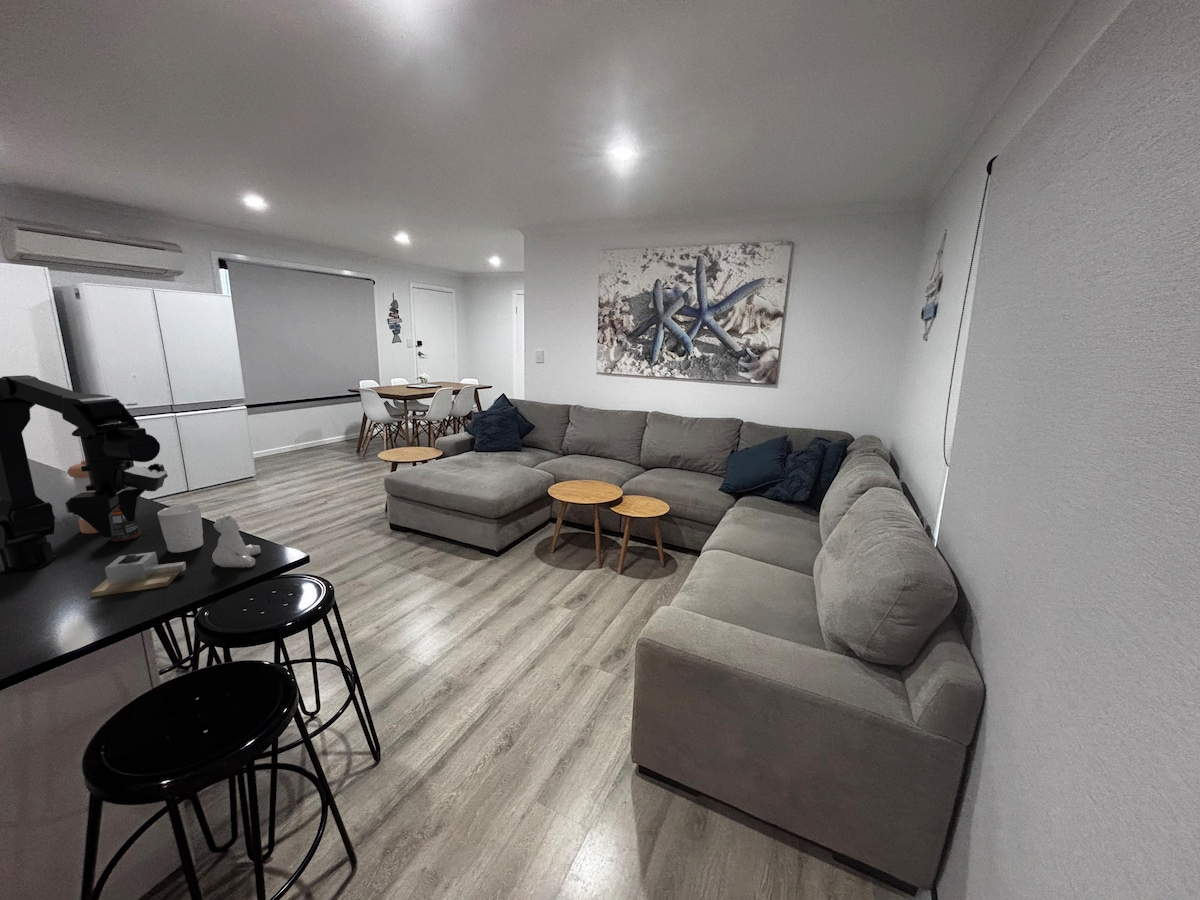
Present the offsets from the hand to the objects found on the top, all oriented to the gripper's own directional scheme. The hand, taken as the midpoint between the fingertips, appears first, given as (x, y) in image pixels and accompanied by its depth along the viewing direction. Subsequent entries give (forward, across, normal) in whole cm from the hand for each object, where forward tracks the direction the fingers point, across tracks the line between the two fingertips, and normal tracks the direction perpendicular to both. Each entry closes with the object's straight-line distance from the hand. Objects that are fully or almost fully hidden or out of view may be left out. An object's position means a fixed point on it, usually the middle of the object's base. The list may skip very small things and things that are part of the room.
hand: (120, 528), depth 99 cm
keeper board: (+12, -2, -2) cm, 12 cm away
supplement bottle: (+12, +27, +12) cm, 32 cm away
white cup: (+12, +15, -5) cm, 20 cm away
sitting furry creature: (+12, +1, -18) cm, 22 cm away
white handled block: (+11, -2, -4) cm, 11 cm away
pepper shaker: (+12, +37, +21) cm, 44 cm away
